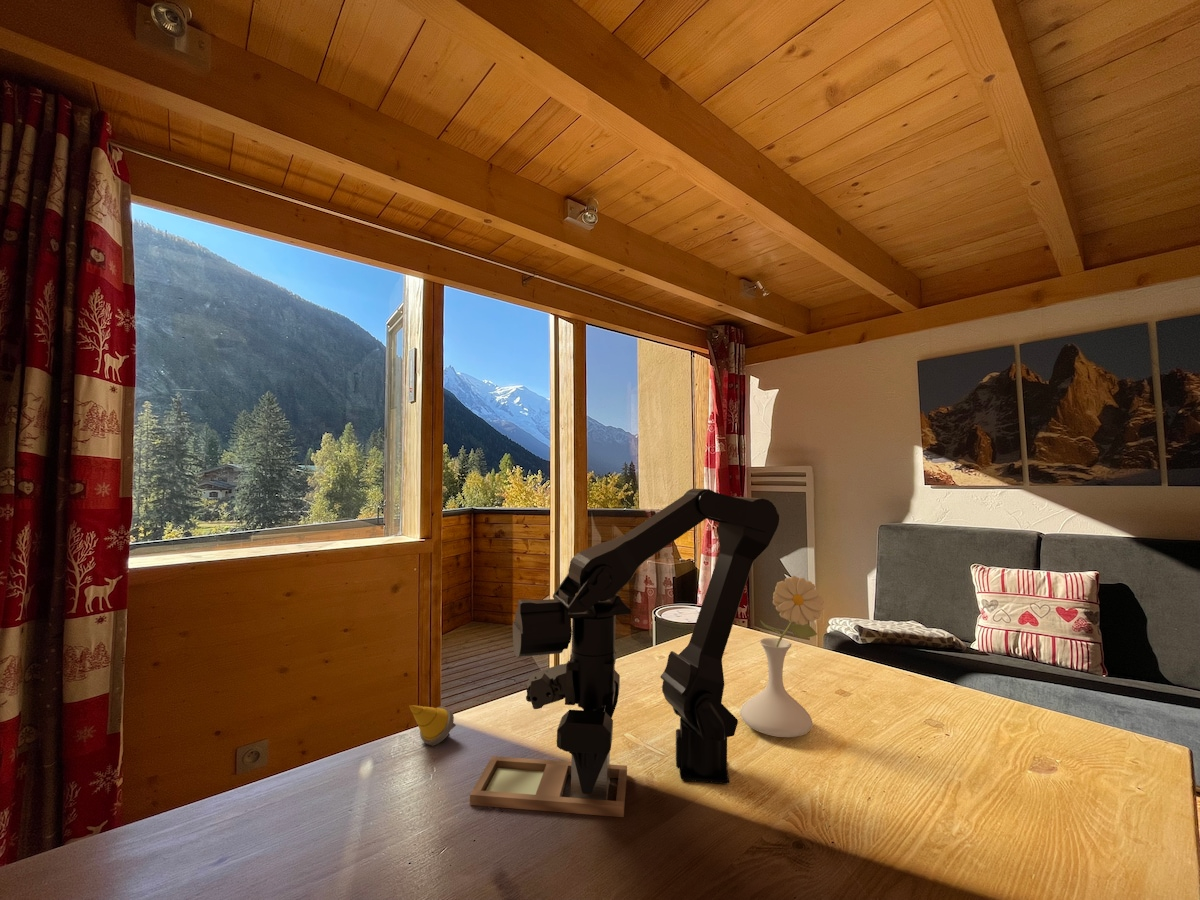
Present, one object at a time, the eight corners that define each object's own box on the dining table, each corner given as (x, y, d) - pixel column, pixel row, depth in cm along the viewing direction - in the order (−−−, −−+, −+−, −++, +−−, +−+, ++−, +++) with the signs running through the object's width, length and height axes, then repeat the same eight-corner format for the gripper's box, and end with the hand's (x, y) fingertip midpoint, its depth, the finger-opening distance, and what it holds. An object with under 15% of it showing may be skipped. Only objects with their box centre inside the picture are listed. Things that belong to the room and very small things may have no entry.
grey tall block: (609, 783, 69) (610, 717, 70) (606, 804, 65) (607, 733, 65) (575, 780, 70) (577, 715, 70) (570, 801, 65) (572, 731, 66)
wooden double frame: (626, 774, 71) (627, 765, 71) (623, 817, 62) (623, 806, 62) (491, 764, 73) (491, 756, 73) (469, 804, 64) (469, 794, 64)
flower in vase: (735, 736, 83) (735, 577, 84) (743, 707, 93) (744, 566, 94) (824, 754, 78) (824, 584, 79) (823, 721, 88) (822, 572, 90)
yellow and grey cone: (462, 746, 79) (421, 717, 74) (432, 757, 80) (390, 729, 74) (465, 712, 83) (427, 682, 78) (437, 723, 84) (398, 694, 79)
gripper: (546, 626, 78) (544, 732, 77) (514, 672, 60) (511, 812, 59) (620, 629, 77) (619, 737, 76) (611, 677, 59) (609, 820, 58)
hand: (591, 771), depth 67 cm, fingers open, 9 cm apart
